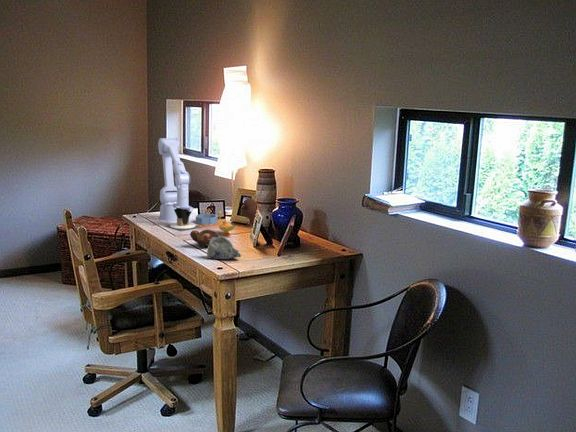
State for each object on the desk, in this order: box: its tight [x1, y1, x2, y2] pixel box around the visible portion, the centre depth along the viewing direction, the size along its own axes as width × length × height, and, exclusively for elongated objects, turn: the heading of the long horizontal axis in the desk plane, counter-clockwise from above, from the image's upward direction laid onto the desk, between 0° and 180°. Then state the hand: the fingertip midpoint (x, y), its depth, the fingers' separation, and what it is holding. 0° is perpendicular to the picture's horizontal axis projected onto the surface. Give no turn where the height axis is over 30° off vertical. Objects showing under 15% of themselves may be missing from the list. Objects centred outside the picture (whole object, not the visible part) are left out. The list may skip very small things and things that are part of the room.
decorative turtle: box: [189, 229, 220, 249], centre depth 260 cm, size 10×15×8 cm, turn 111°
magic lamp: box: [218, 210, 239, 237], centre depth 282 cm, size 7×18×11 cm, turn 36°
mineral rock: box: [206, 235, 242, 260], centre depth 241 cm, size 13×11×10 cm
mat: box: [163, 224, 204, 232], centre depth 296 cm, size 15×14×1 cm
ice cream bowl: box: [240, 197, 257, 228], centre depth 302 cm, size 11×11×15 cm
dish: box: [195, 213, 219, 226], centre depth 307 cm, size 11×11×4 cm
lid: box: [169, 217, 197, 229], centre depth 295 cm, size 13×13×4 cm
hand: (182, 223), depth 295 cm, fingers closed on lid, 3 cm apart
